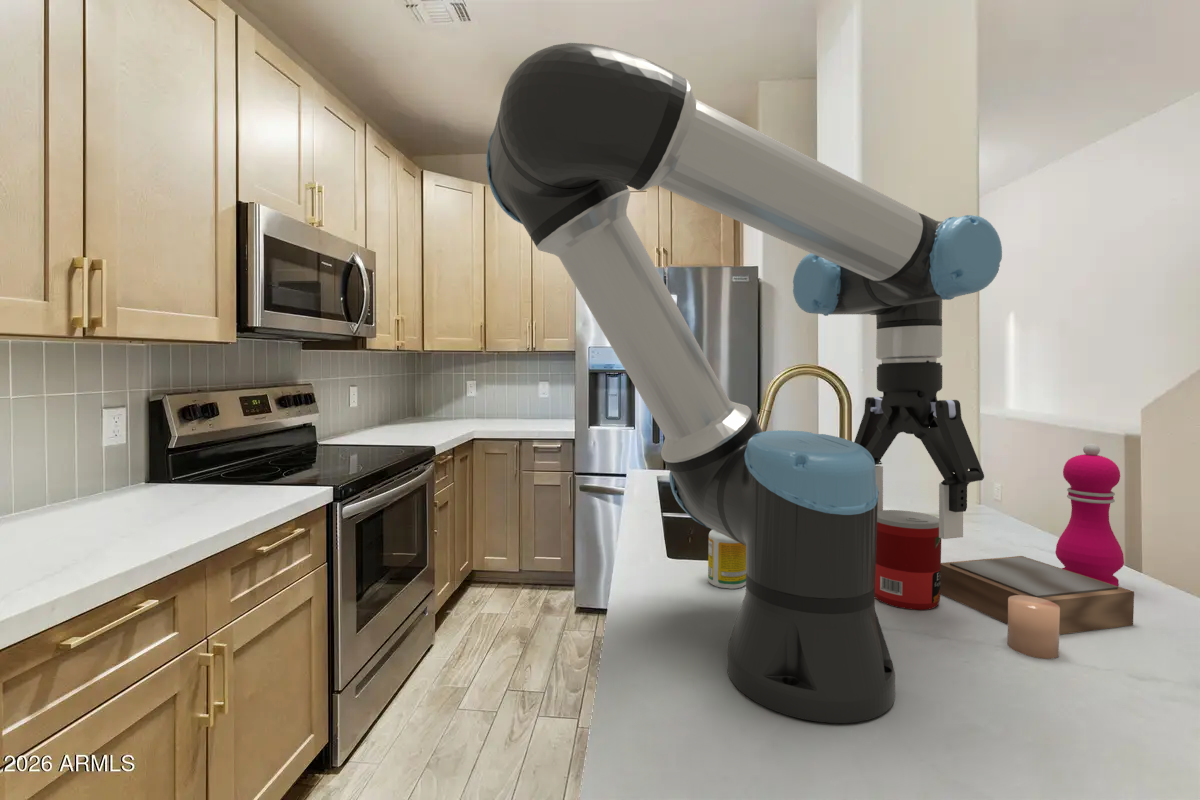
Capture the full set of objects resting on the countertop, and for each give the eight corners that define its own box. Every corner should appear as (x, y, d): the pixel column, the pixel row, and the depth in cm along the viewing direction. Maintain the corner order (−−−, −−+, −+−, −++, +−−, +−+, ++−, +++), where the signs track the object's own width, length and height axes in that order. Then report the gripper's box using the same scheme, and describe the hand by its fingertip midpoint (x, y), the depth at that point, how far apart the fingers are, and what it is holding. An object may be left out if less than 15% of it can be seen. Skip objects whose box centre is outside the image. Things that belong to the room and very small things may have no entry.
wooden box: (1037, 637, 64) (1037, 599, 64) (937, 592, 78) (937, 561, 78) (1133, 625, 67) (1134, 589, 67) (1021, 583, 81) (1021, 554, 81)
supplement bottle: (700, 582, 82) (700, 515, 82) (724, 573, 85) (724, 510, 85) (730, 592, 78) (731, 522, 78) (754, 583, 81) (755, 516, 81)
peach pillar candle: (1035, 661, 59) (1036, 612, 59) (997, 642, 63) (998, 597, 63) (1069, 656, 60) (1070, 609, 60) (1029, 637, 64) (1030, 593, 64)
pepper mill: (1126, 600, 75) (1130, 447, 74) (1055, 588, 79) (1059, 444, 78) (1119, 584, 80) (1123, 442, 80) (1054, 574, 85) (1057, 439, 84)
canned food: (949, 613, 71) (951, 525, 70) (880, 608, 72) (881, 522, 72) (927, 590, 78) (928, 511, 78) (864, 586, 80) (865, 508, 80)
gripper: (1022, 357, 63) (1020, 548, 64) (868, 363, 87) (868, 501, 88) (965, 358, 61) (964, 554, 62) (824, 364, 86) (825, 505, 86)
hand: (908, 523), depth 75 cm, fingers open, 13 cm apart
